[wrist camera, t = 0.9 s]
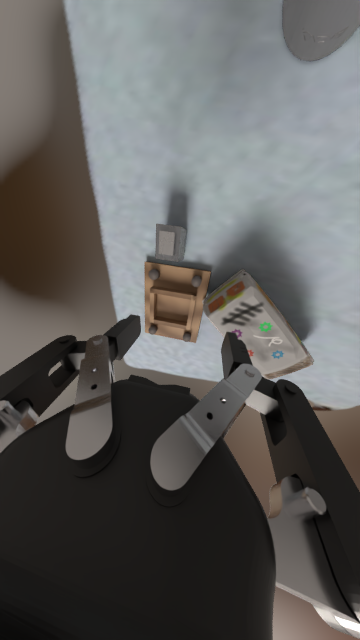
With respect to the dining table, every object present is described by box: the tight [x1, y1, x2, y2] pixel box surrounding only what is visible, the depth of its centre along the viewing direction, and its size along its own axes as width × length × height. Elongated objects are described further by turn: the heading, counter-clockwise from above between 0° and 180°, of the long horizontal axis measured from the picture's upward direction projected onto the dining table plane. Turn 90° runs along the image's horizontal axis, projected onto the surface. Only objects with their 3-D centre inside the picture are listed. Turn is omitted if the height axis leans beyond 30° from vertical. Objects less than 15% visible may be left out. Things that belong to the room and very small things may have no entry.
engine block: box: [155, 224, 187, 262], centre depth 25 cm, size 5×4×7 cm
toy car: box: [202, 269, 314, 379], centre depth 28 cm, size 11×25×10 cm, turn 44°
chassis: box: [145, 262, 211, 343], centre depth 32 cm, size 18×14×3 cm
